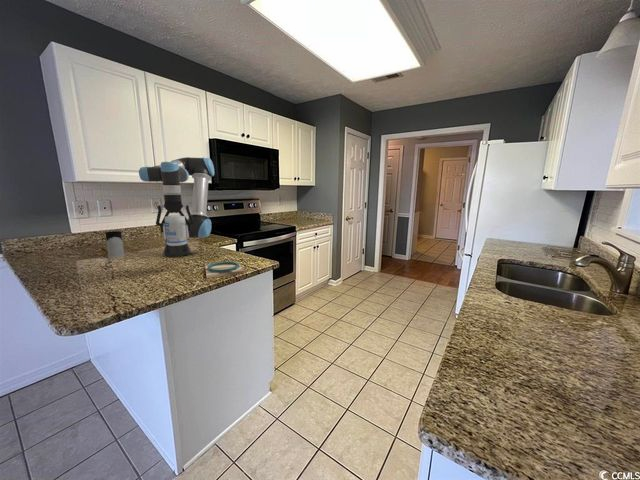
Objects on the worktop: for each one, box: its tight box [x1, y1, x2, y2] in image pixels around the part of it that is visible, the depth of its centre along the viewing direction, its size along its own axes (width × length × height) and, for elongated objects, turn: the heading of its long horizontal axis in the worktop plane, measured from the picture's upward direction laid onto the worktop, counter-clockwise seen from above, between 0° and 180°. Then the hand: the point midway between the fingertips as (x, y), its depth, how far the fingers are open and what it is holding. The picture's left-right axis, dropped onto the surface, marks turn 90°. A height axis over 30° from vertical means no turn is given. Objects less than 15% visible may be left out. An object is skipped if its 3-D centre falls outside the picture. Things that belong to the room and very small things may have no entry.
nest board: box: [204, 261, 245, 279], centre depth 135 cm, size 18×17×3 cm
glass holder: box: [104, 230, 126, 259], centre depth 161 cm, size 9×14×15 cm, turn 41°
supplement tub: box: [165, 214, 188, 246], centre depth 135 cm, size 10×10×15 cm
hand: (176, 238), depth 135 cm, fingers closed on supplement tub, 10 cm apart
